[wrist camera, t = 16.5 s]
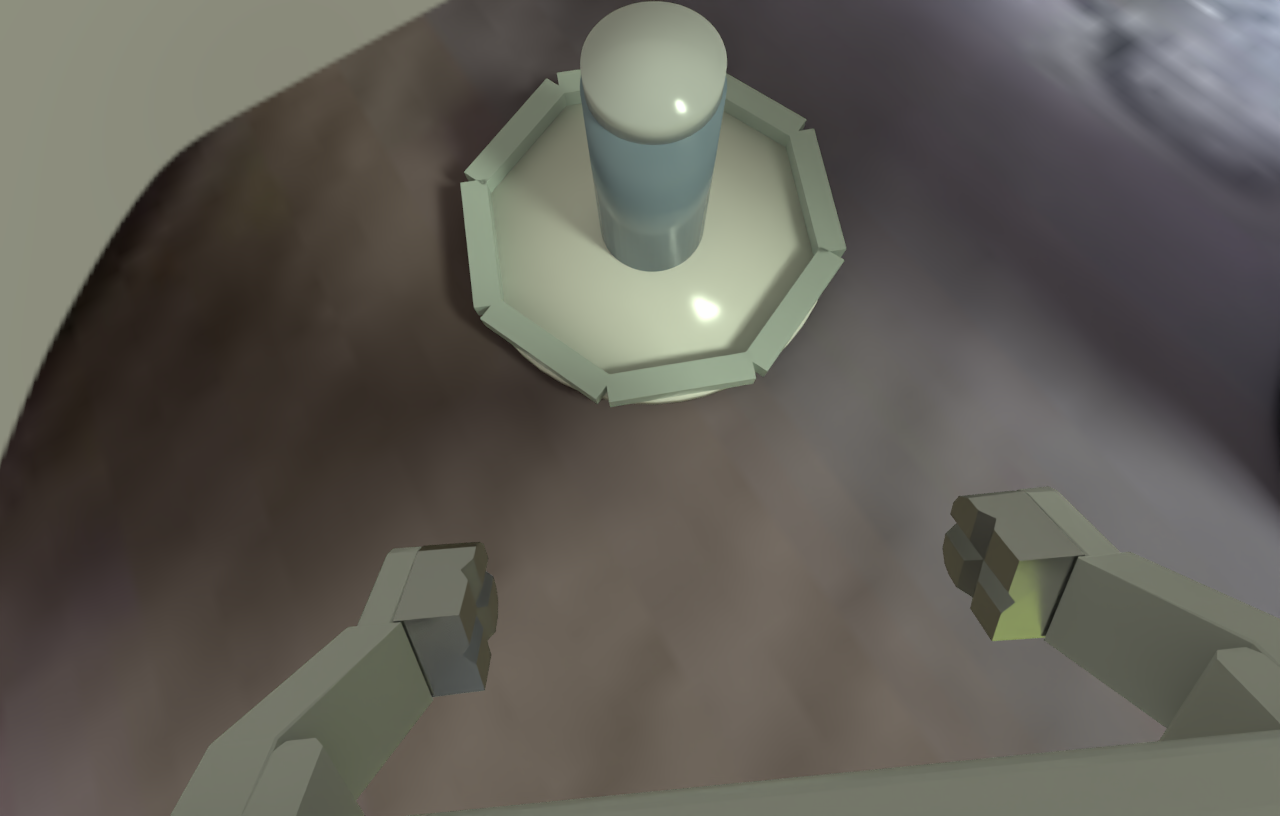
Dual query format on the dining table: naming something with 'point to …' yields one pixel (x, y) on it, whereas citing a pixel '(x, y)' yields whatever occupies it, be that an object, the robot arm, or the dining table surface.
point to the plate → (639, 300)
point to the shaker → (653, 128)
